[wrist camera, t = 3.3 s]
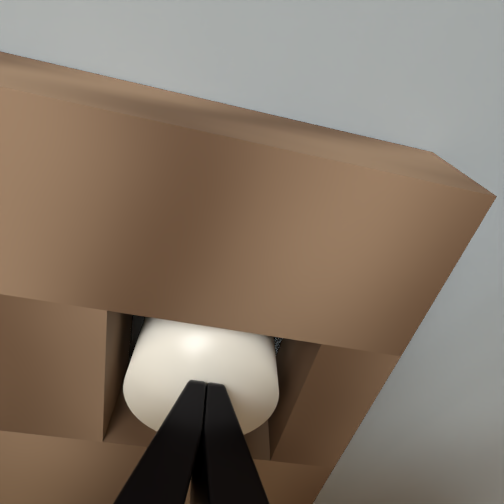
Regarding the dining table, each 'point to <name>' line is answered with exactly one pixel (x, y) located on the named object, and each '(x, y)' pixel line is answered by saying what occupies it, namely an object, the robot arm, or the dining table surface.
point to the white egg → (201, 370)
